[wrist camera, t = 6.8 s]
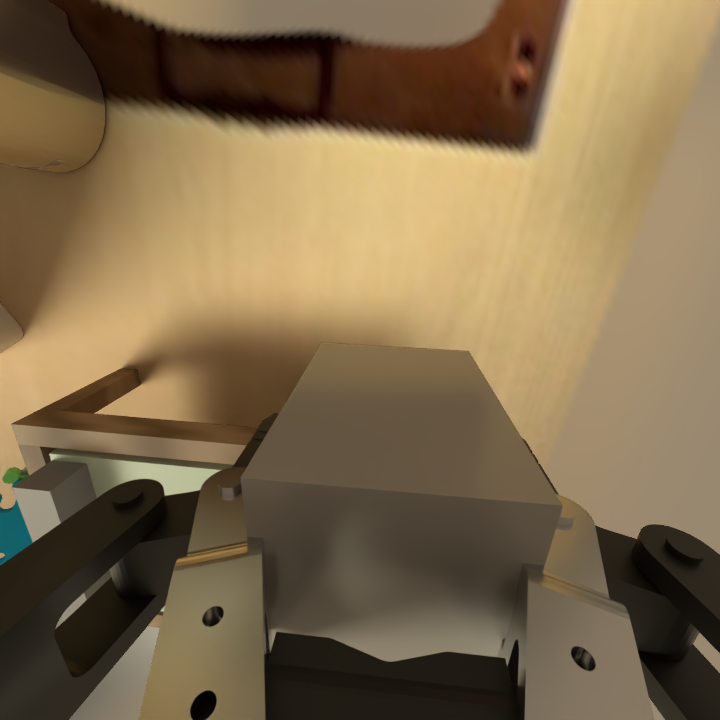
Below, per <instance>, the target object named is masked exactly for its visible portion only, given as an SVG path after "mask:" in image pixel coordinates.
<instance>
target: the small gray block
mask: <svg viewBox="0 0 720 720" xmlns="http://www.w3.org/2000/svg"><path fill="white" fill-rule="evenodd" d="M241 487H242V496H243V505H244V514H245V523H246V532H247V537H257V538H263V542H264V553H265V570H266V585H267V596H268V607H269V614H270V619H271V630H272V645H273V642H274V638H275V635H276V632H283V633H292V634H301V635H309V636H318V637H327V638H332V639H334V640H337V641H339V642H341V643H344V644H346V645H348V646H350V647H353V648H355V649H357V650H360V651H362V652H364V653H367V654H369V655H371V656H374V657H376V658H378V659H381V660H383V661H388V662H394V661H399V660H405V659H410V658H415V657H420V656H426V655H431V654H436V653H441V652H447V651H448V652H456V653H465V654H474V655H482V656H491V657H497V655H498V652H499V648H500V644H501V641H502V640H505V639H506V635H507V631H508V628H509V624H510V621H511V617H512V614H513V610H514V605H515V600H516V593H517V583H518V579H519V575H520V572H521V568H522V565H523V563H525V564H535V565H545V563H546V559H547V556H548V553H549V550H550V546H551V543H552V540H553V537H554V533H555V530H556V527H557V524H558V520H559V517H560V514H561V511H562V507H563V505H562V503H561V501H560V500H559V498H558V497H557V495H556V493H555V492H554V490H553V488H552V487H551V485H550V483H549V482H548V480H547V479H546V477H545V475H544V474H543V472H542V470H541V469H540V467H539V465H538V464H537V462H536V460H535V459H534V457H533V456H532V454H531V452H530V451H529V449H528V447H527V446H526V444H525V442H524V441H523V439H522V438H521V436H520V434H519V433H518V431H517V429H516V428H515V426H514V424H513V423H512V421H511V420H510V418H509V416H508V415H507V413H506V411H505V410H504V408H503V406H502V405H501V403H500V401H499V400H498V398H497V397H496V395H495V393H494V392H493V390H492V388H491V387H490V385H489V383H488V382H487V380H486V379H485V377H484V375H483V374H482V372H481V370H480V369H479V367H478V365H477V364H476V362H475V361H474V359H473V357H472V356H471V354H470V352H469V351H460V350H443V349H426V348H409V347H391V346H374V345H357V344H340V343H323V342H322V343H321V345H320V346H319V348H318V350H317V351H316V353H315V355H314V356H313V358H312V360H311V361H310V363H309V365H308V366H307V368H306V370H305V371H304V373H303V375H302V376H301V378H300V380H299V381H298V383H297V385H296V386H295V388H294V390H293V391H292V393H291V395H290V396H289V398H288V400H287V401H286V403H285V405H284V406H283V408H282V410H281V411H280V413H279V415H278V416H277V418H276V420H275V421H274V423H273V425H272V426H271V428H270V430H269V431H268V433H267V435H266V436H265V438H264V440H263V441H262V443H261V444H260V446H259V448H258V449H257V451H256V453H255V454H254V456H253V458H252V459H251V461H250V463H249V464H248V466H247V468H246V469H245V471H244V473H243V474H242V476H241Z"/></svg>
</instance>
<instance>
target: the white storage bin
mask: <svg viewBox="0 0 720 720" xmlns="http://www.w3.org/2000/svg"><path fill="white" fill-rule="evenodd" d="M22 337H23V330H22V329H21V327H20V325H19V324H18V323H17V322H16V321H15V319H14V318H13V317H12V316H11V315H10V313H9V312H8V311H7V310H6V309H5V308H4V306H3V305H2V304H1V303H0V353H1V352H3V351H4V350H6V349H7V348H9V347H10V346H12V345H13V344H15V343H16V342H18V341H19V340H21V338H22Z"/></svg>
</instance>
